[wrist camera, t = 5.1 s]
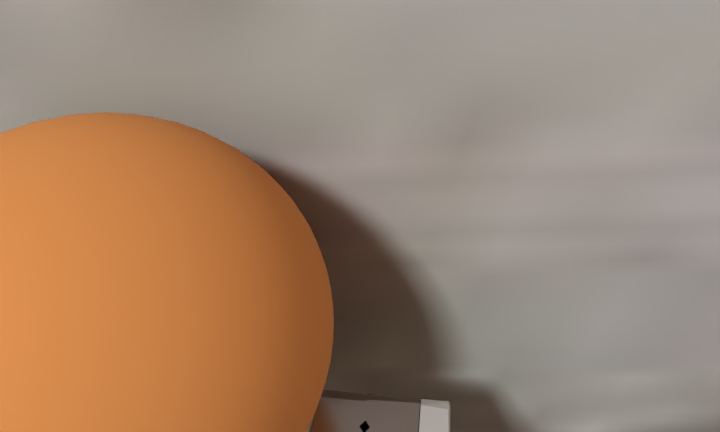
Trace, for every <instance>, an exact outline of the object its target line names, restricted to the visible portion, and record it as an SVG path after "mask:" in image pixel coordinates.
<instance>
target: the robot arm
mask: <svg viewBox="0 0 720 432" xmlns="http://www.w3.org/2000/svg"><path fill="white" fill-rule="evenodd" d="M306 432H450V403H449V401H442V400H429V399H421V406H420V398H415V397H402V396H389V395H377V394H367V395H366V394H357V393H348V392H340V391H331V390H323V392H322V395H321V398H320V400H319V403H318V406H317V409H316V412H315V414H314V416H313V418H312V421H311V423H310V425H309V427H308V429H307V431H306Z"/></svg>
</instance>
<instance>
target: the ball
mask: <svg viewBox="0 0 720 432" xmlns="http://www.w3.org/2000/svg"><path fill="white" fill-rule="evenodd" d="M333 334H334V313H333V300H332V292H331V286H330V281H329V277H328V273H327V269H326V266H325V263H324V260H323V257H322V254H321V251H320V249H319V246H318V243H317V241H316V239H315V237H314V234H313V232H312V230H311V228H310V226H309V224H308V223H307V221H306V220H305V218H304V217H303V215H302V213H301V212H300V210H299V209H298V207H297V206H296V205H295V203H294V202H293V200H292V199H291V197H290V196H289V195H288V194H287V193H286V192H285V190H284V189H283V188H282V187H281V186H280V185H279V184H278V183H277V182H276V181H275V180H274V179H273V178H272V177H271V176H270V175H269V174H268V173H267V172H266V171H265V170H264V169H263V168H261V167H260V166H259V165H258V164H256V163H255V162H254V161H252V160H251V159H250V158H248V157H247V156H246V155H244V154H243V153H241V152H240V151H239V150H237V149H236V148H234V147H232V146H230V145H228V144H226V143H224V142H222V141H221V140H219V139H217V138H215V137H213V136H211V135H209V134H206V133H204V132H202V131H200V130H197V129H194V128H191V127H188V126H186V125H183V124H180V123H177V122H173V121H168V120H163V119H158V118H153V117H148V116H142V115H135V114H120V113H92V114H75V115H70V116H64V117H59V118H54V119H48V120H43V121H38V122H33V123H30V124H27V125H24V126H21V127H18V128H15V129H12V130H9V131H6V132H3V133H0V432H306V431H307V429H308V427H309V425H310V423H311V421H312V418H313V416H314V414H315V412H316V409H317V406H318V403H319V400H320V398H321V395H322V392H323V389H324V386H325V383H326V379H327V375H328V371H329V367H330V362H331V355H332V348H333Z"/></svg>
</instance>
